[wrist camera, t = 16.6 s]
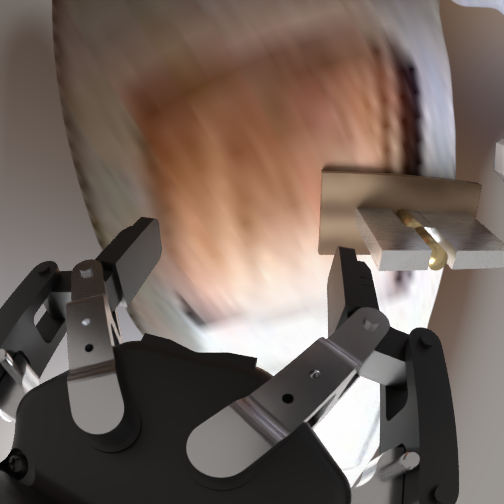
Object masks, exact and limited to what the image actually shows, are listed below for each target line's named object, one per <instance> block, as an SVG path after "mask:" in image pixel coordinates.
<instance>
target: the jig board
mask: <svg viewBox="0 0 504 504" xmlns="http://www.w3.org/2000/svg"><path fill="white" fill-rule="evenodd" d="M480 192H481V185H480V184H479V183H475V182H468V181H460V180H453V179H444V178H435V177H425V176H415V175H403V174H389V173H373V172H353V171H321V206H320V228H319V246H318V252H319V255H335V252H336V248H337V246H341V247H347V248H353V249H355V252H356V255H371V254H370V252H369V250H368V248H367V246H366V244H365V242H364V240H363V238H362V237H361V235H360V233H359V231H358V229H357V227H356V225H355V218H356V208H377V209H391V210H392V211H393V212H394V213H395V214H396V212H397V211H398V210H400V209H406V210H407V211H415V212H417V211H418V210H421V211H439V212H455V213H469V214H470V215H472V216H473V217H474V218H475V217H476V212H477V208H478V202H479V197H480Z"/></svg>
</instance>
